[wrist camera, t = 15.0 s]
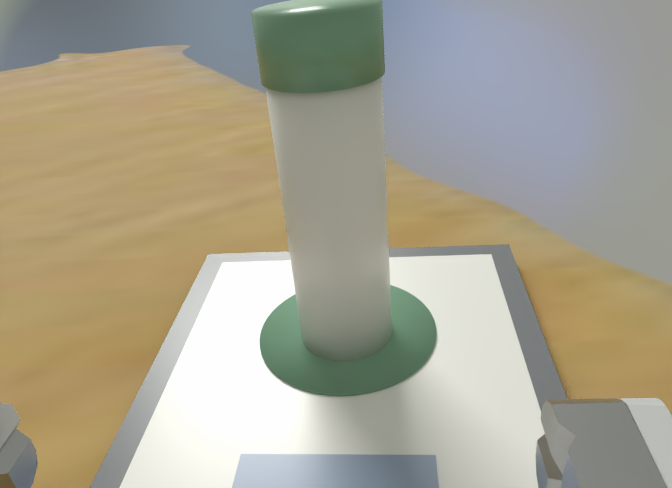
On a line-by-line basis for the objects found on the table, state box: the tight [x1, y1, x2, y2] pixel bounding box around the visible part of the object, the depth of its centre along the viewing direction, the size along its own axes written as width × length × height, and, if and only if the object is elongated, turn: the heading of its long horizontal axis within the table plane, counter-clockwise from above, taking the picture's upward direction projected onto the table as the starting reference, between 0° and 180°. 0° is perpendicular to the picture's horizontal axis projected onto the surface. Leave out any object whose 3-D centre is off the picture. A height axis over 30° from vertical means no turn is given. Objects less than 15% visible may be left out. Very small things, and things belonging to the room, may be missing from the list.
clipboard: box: [90, 245, 567, 488], centre depth 19 cm, size 15×21×1 cm
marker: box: [251, 0, 392, 361], centre depth 19 cm, size 4×4×12 cm
